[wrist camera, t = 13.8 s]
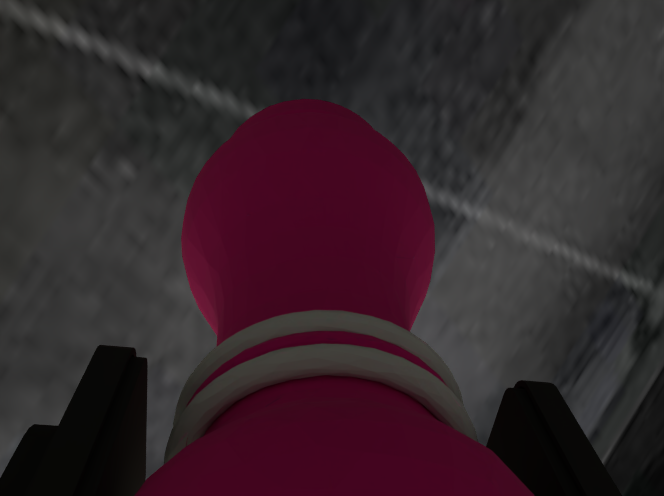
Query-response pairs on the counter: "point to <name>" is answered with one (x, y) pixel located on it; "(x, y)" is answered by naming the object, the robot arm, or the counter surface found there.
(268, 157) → the pepper mill
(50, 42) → the counter surface
